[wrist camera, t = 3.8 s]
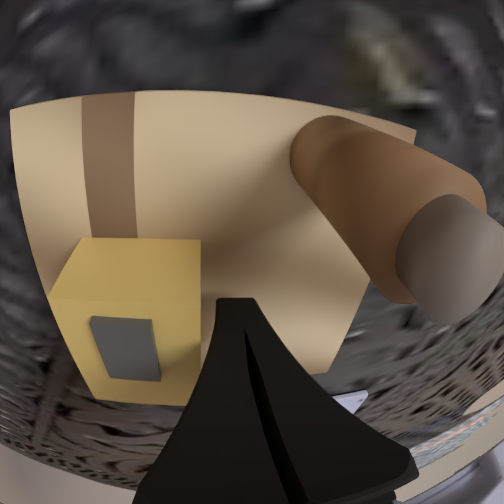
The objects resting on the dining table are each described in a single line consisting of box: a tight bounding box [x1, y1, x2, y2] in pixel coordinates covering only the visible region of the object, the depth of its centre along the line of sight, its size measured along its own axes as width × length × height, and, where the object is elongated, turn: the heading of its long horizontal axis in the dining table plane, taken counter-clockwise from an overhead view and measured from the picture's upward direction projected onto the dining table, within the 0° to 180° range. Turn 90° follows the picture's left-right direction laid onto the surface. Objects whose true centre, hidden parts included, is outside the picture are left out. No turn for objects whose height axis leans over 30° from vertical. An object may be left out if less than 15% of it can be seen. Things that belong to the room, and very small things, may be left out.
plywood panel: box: [10, 90, 417, 374], centre depth 11 cm, size 12×13×1 cm
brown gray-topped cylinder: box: [289, 115, 504, 326], centre depth 6 cm, size 3×3×6 cm
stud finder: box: [47, 238, 201, 406], centre depth 9 cm, size 5×4×3 cm
